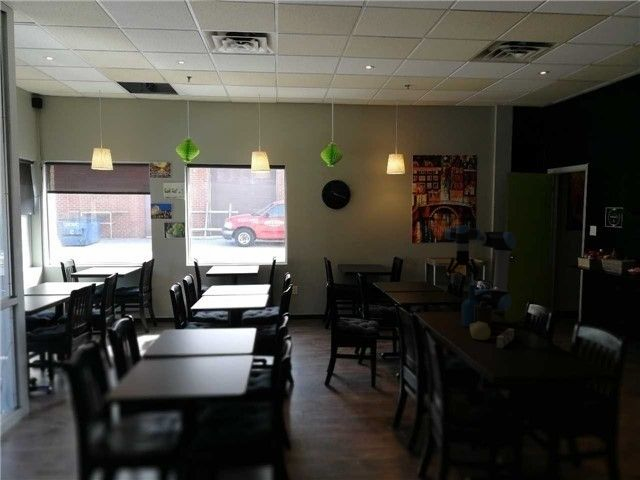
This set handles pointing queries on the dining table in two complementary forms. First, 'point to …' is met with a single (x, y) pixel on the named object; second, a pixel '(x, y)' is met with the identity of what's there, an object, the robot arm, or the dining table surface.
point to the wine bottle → (469, 307)
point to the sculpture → (480, 330)
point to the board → (505, 338)
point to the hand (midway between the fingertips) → (462, 284)
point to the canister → (483, 313)
